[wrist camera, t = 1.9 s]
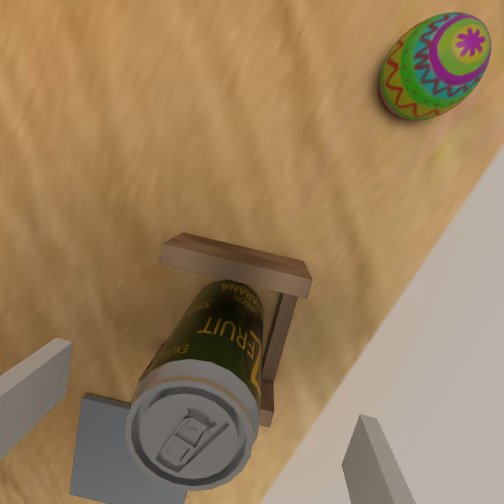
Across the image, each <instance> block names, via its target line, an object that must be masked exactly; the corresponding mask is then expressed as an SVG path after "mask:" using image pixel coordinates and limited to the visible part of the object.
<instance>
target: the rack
mask: <svg viewBox="0 0 504 504" xmlns="http://www.w3.org/2000/svg"><path fill="white" fill-rule="evenodd" d="M159 263H161V264H165V265H169V266H173V267H177V268H181V269H186V270H190V271H194V272H198V273H202V274H206V275H211V276H215V277H219V278H223V279H227V280H231V281H235V282H240V283H244V284H248V285H252V286H256V287H260V288H265V289H269V290H273V291H277V292H281V295H280V298H279V302H278V306H277V310H276V313H275V317H274V321H273V324H272V328H271V332H270V336H269V339H268V343H267V347H266V350H265V354H264V358H263V362H262V372H261V400H260V421H259V425H261V426H265V427H269V428H270V425H271V421H272V418H273V414H274V391H273V382H274V379H275V375H276V372H277V368H278V365H279V361H280V358H281V354H282V351H283V347H284V344H285V340H286V336H287V333H288V329H289V326H290V322H291V319H292V315H293V312H294V308H295V305H296V301H297V298H298V297H302V298H306V299H307V297H308V294H309V290H310V287H311V283H312V278H311V276H310V274H309V272H308V270H307V268H306V266H305V263H304V262H303V261H299V260H295V259H290V258H286V257H282V256H278V255H274V254H270V253H265V252H261V251H257V250H253V249H249V248H245V247H240V246H236V245H232V244H228V243H224V242H220V241H216V240H211V239H207V238H203V237H199V236H195V235H191V234H186V233H182V234H180V235H178V236H176V237H174V238H173V239H171V240H169V241H167V242H165V243H163V244H162V250H161V256H160V261H159ZM163 346H164V345H162V346H161V348H160V349H159V351H158V352H157V354H156V355H155V357H154V358H153V359H152V361H151V362H150V364H149V365H148V367H147V368H146V370H145V371H144V373H143V374H142V376H141V377H140V379H139V382H138V384H139V383H140V381H141V380H142V378H143V377H144V375H145V374H146V372H147V371H148V369H149V368H150V366H151V365H152V363H153V362H154V360H155V358H156V357H157V355H158V354H159V352H160V351H161V349H162V348H163Z"/></svg>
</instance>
